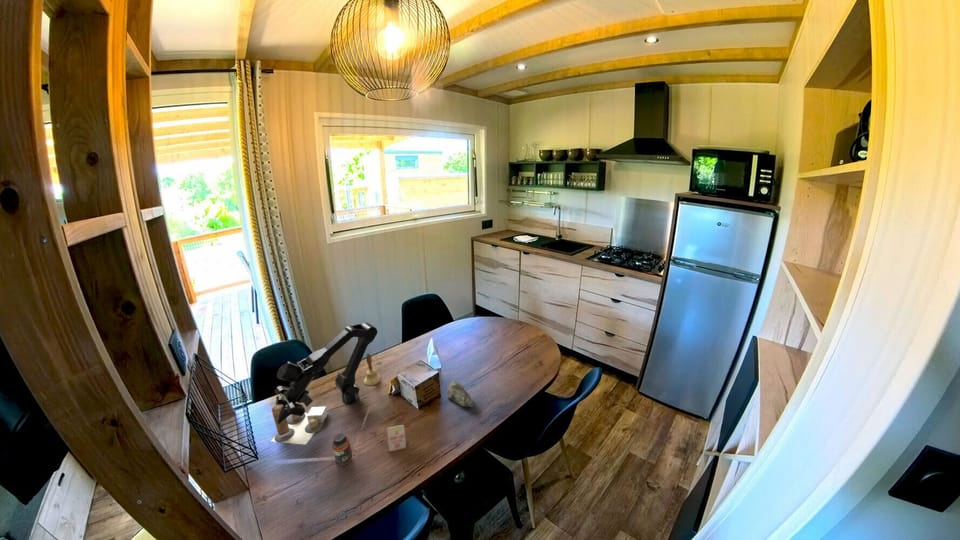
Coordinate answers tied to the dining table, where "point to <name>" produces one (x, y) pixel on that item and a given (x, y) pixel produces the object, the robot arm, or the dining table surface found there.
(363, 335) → the robot arm
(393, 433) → the small printed carton
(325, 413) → the housing
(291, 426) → the board
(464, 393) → the mineral rock
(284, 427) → the tan orange cylinder
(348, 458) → the supplement bottle
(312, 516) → the dining table surface
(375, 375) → the hand bell
